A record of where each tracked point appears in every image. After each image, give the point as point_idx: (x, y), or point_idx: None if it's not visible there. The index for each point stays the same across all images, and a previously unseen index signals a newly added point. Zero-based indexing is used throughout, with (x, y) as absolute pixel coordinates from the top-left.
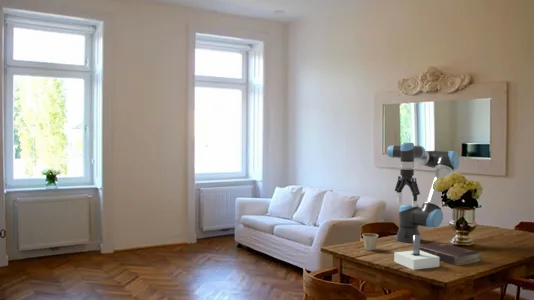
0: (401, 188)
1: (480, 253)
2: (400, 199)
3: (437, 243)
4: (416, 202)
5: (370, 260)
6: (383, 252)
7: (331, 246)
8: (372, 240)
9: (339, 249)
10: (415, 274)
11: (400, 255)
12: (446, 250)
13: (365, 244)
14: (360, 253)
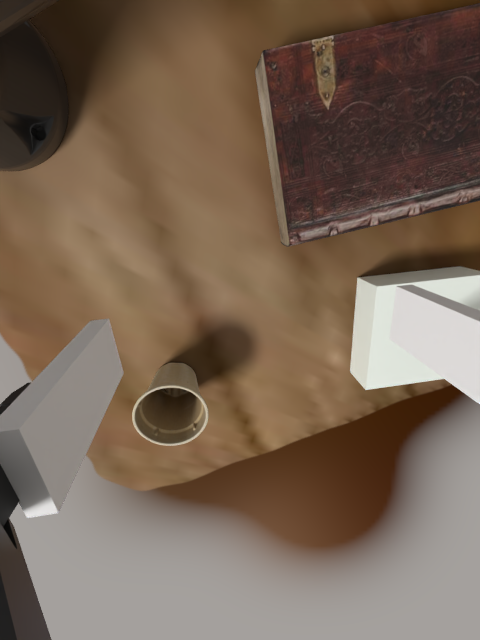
0: (28, 611)
1: None
2: (97, 372)
3: (287, 82)
4: (451, 303)
5: (309, 426)
6: (230, 353)
7: (105, 477)
8: (201, 406)
9: (154, 466)
10: None
11: (397, 383)
12: (417, 148)
13: (180, 411)
14: (222, 426)
